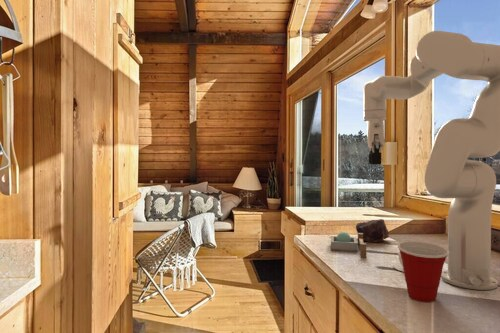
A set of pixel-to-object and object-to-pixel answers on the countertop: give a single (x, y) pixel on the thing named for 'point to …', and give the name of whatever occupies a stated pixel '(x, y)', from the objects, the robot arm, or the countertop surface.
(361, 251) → the rail
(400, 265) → the teacup
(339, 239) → the ball
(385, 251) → the countertop surface
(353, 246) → the dish
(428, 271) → the plastic cup
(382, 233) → the rock
